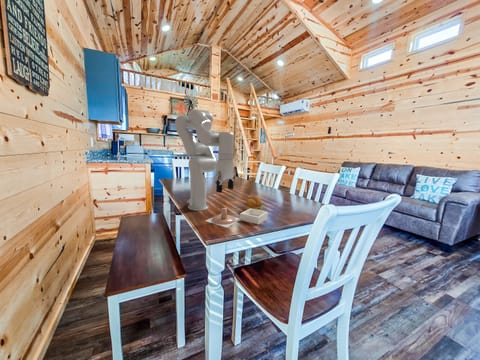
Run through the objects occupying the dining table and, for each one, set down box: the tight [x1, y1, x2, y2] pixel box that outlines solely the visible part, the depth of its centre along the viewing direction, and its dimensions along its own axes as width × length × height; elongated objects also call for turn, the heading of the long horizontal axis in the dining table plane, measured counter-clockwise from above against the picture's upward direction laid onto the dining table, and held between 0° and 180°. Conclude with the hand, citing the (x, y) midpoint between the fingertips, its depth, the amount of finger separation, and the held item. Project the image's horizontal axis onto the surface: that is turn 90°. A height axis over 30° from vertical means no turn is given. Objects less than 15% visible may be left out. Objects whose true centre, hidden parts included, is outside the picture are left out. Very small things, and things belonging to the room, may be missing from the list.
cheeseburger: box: [245, 196, 264, 211], centre depth 127 cm, size 10×11×10 cm
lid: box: [212, 207, 235, 225], centre depth 110 cm, size 12×12×6 cm
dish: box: [239, 208, 269, 225], centre depth 113 cm, size 11×11×4 cm
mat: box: [205, 213, 241, 228], centre depth 110 cm, size 14×14×1 cm
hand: (225, 190), depth 108 cm, fingers open, 9 cm apart
